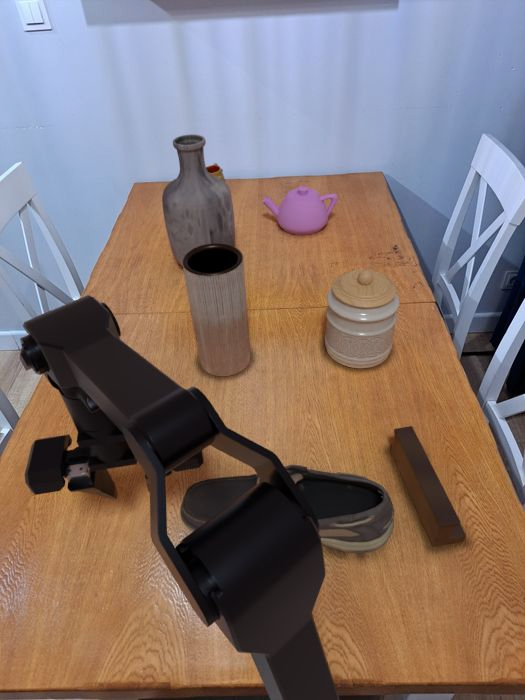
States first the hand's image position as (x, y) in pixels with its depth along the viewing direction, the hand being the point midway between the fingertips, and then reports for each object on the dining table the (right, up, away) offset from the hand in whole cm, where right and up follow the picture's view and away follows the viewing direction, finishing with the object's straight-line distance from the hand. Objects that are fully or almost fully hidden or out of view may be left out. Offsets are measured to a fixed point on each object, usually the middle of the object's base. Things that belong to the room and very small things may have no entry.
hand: (134, 493), depth 60 cm
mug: (+1, +70, +97) cm, 119 cm away
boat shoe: (+19, -6, +10) cm, 23 cm away
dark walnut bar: (+40, -3, +12) cm, 41 cm away
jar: (+35, +18, +36) cm, 53 cm away
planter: (+9, +16, +35) cm, 40 cm away
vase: (+2, +39, +62) cm, 73 cm away
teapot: (+26, +52, +75) cm, 95 cm away
